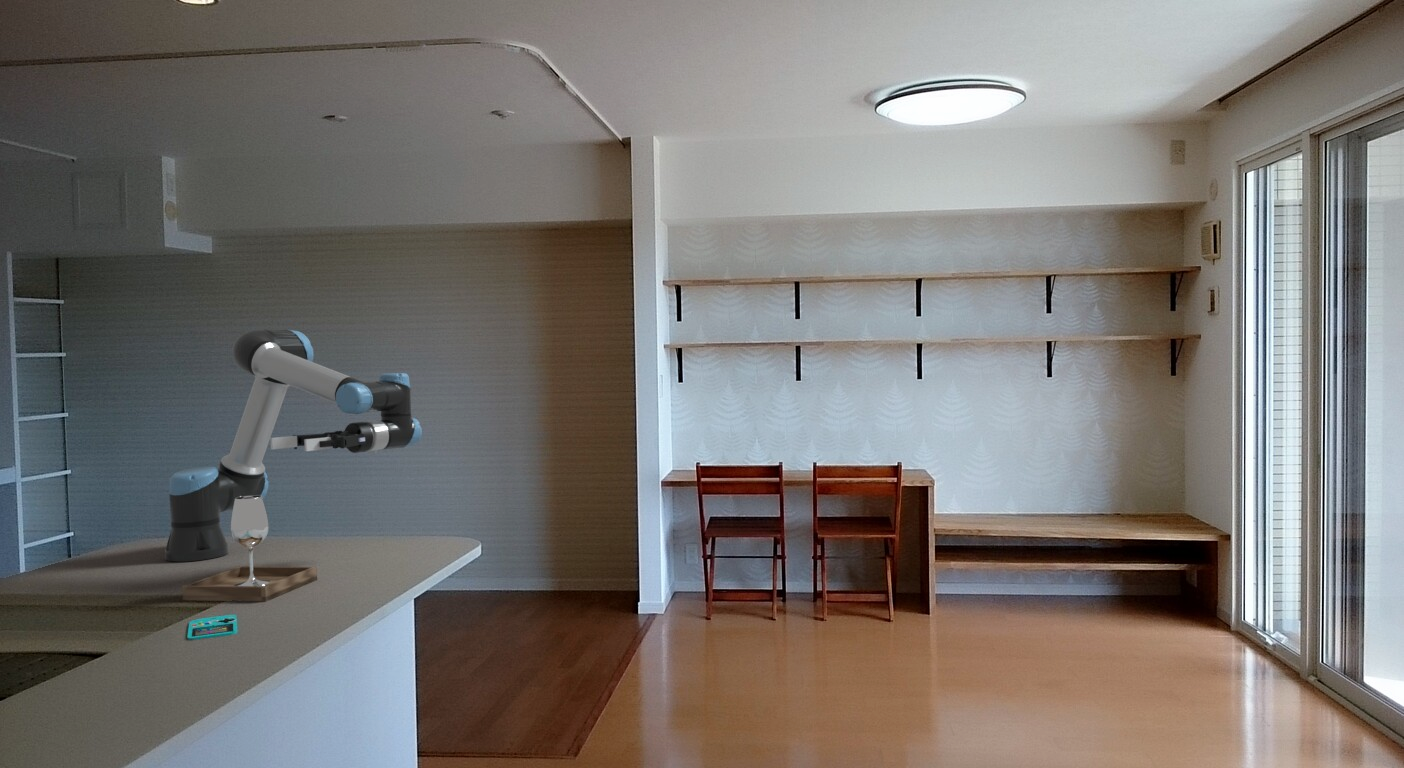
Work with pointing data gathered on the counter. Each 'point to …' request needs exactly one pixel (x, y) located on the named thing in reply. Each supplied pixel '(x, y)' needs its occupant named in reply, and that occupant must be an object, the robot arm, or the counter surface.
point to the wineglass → (249, 529)
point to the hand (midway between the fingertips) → (288, 444)
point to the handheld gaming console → (212, 626)
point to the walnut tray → (224, 589)
